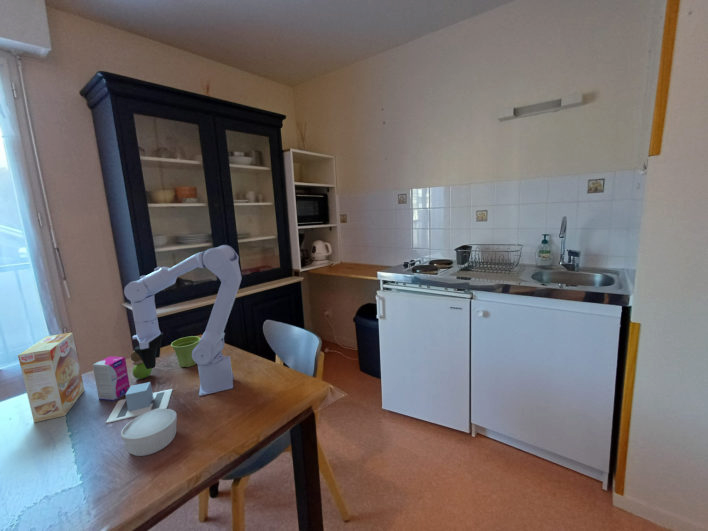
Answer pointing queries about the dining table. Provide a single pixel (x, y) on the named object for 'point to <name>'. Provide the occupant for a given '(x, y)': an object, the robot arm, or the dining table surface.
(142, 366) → the snail figurine
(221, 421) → the dining table surface
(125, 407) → the letter sheet
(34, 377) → the coffeecake box
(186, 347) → the plant pot
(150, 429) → the ramekin
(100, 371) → the supplement box
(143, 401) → the blue cube
